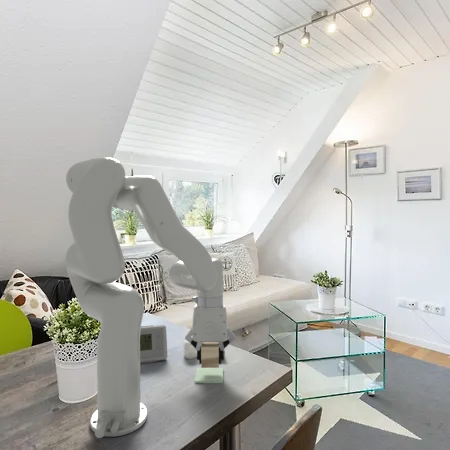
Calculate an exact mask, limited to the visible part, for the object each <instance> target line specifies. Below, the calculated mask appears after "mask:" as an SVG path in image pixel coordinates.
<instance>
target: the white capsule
mask: <svg viewBox="0 0 450 450" xmlns="http://www.w3.org/2000/svg"><path fill="white" fill-rule="evenodd" d="M183 358H185V359H186V360H192V359H197V350H196V348H195V347H194V346H193V345H192V344H191V343H189V342H188V341H187V340H186V339H185V340H183Z"/></svg>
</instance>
